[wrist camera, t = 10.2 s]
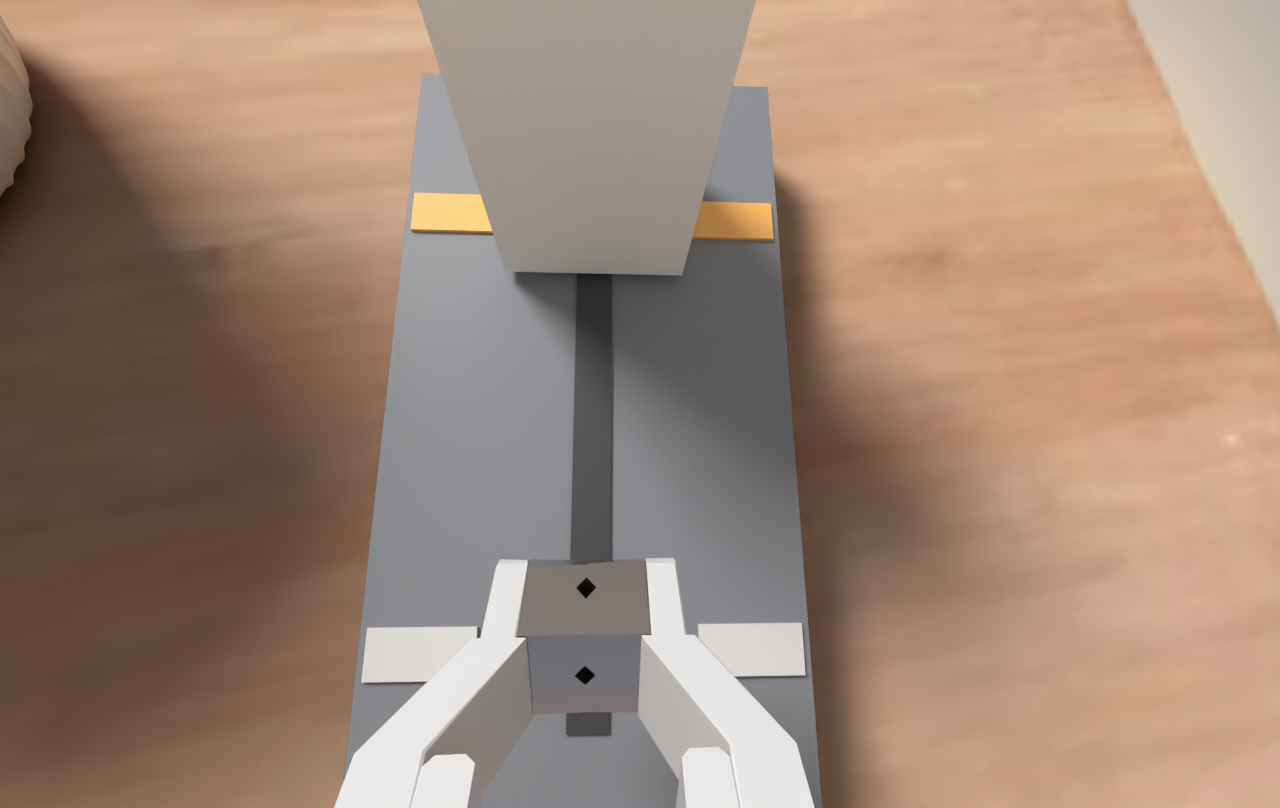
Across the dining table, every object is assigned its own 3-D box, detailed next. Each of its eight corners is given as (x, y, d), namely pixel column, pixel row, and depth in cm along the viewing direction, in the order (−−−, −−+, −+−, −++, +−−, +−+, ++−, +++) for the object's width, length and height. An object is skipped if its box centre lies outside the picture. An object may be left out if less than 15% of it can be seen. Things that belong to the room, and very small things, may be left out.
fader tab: (689, 282, 17) (798, -84, 8) (497, 277, 17) (359, -110, 7) (685, 151, 18) (775, -309, 9) (506, 144, 18) (396, -340, 8)
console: (788, 830, 17) (829, 886, 14) (379, 843, 16) (327, 905, 13) (746, 149, 22) (768, 84, 20) (446, 138, 22) (421, 70, 19)
